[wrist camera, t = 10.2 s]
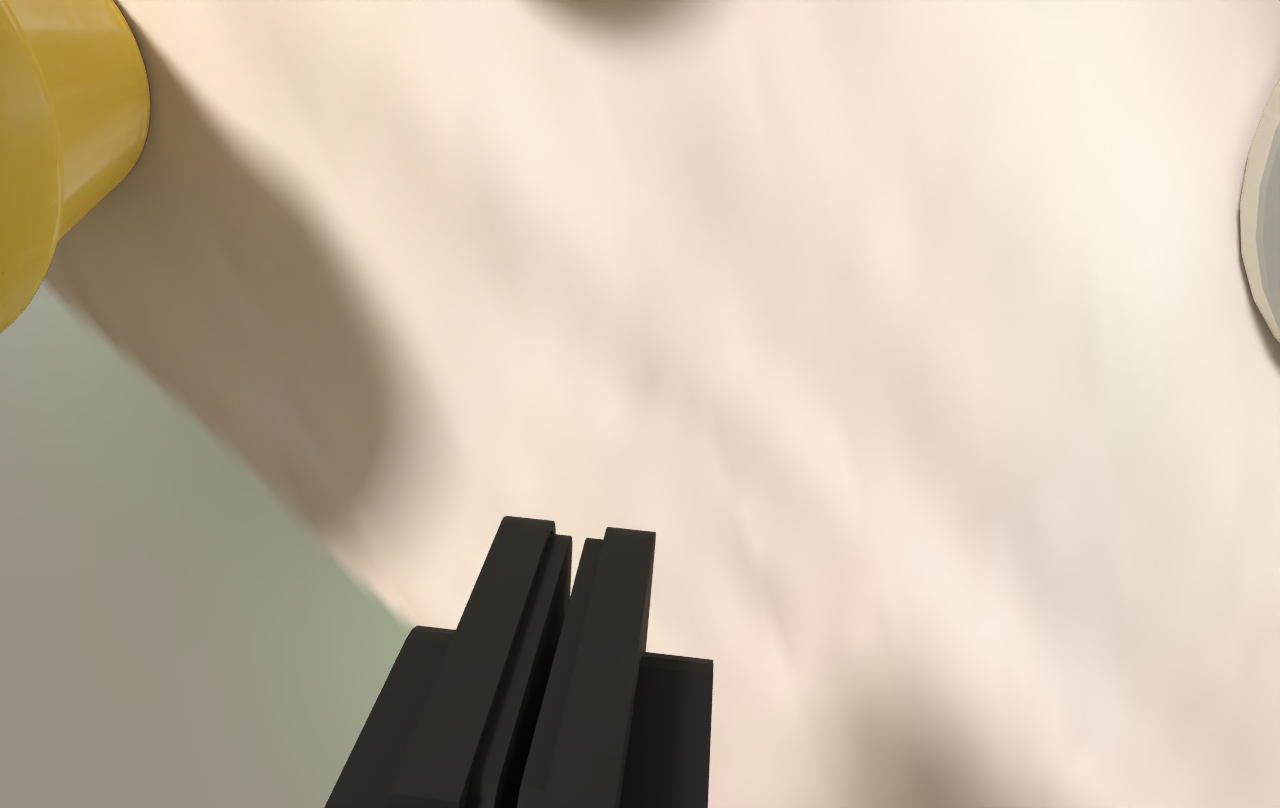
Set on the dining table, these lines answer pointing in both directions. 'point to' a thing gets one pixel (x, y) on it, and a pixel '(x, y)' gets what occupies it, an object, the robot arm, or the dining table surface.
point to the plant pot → (61, 128)
